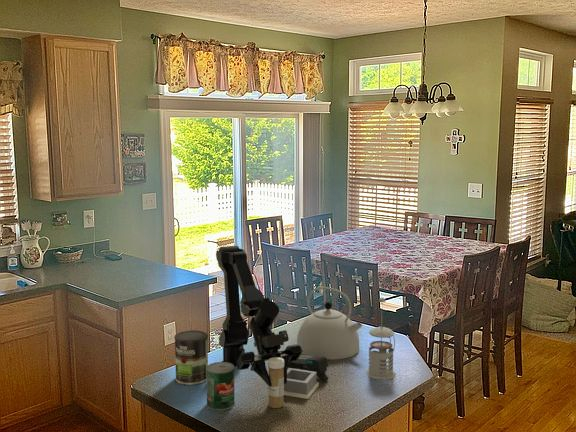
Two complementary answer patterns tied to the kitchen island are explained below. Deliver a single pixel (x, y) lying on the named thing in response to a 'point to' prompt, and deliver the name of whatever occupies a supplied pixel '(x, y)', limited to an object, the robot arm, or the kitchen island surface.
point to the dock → (300, 383)
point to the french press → (381, 353)
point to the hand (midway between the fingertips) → (278, 384)
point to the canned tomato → (220, 385)
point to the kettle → (329, 332)
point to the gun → (311, 365)
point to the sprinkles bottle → (276, 382)
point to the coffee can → (191, 357)
